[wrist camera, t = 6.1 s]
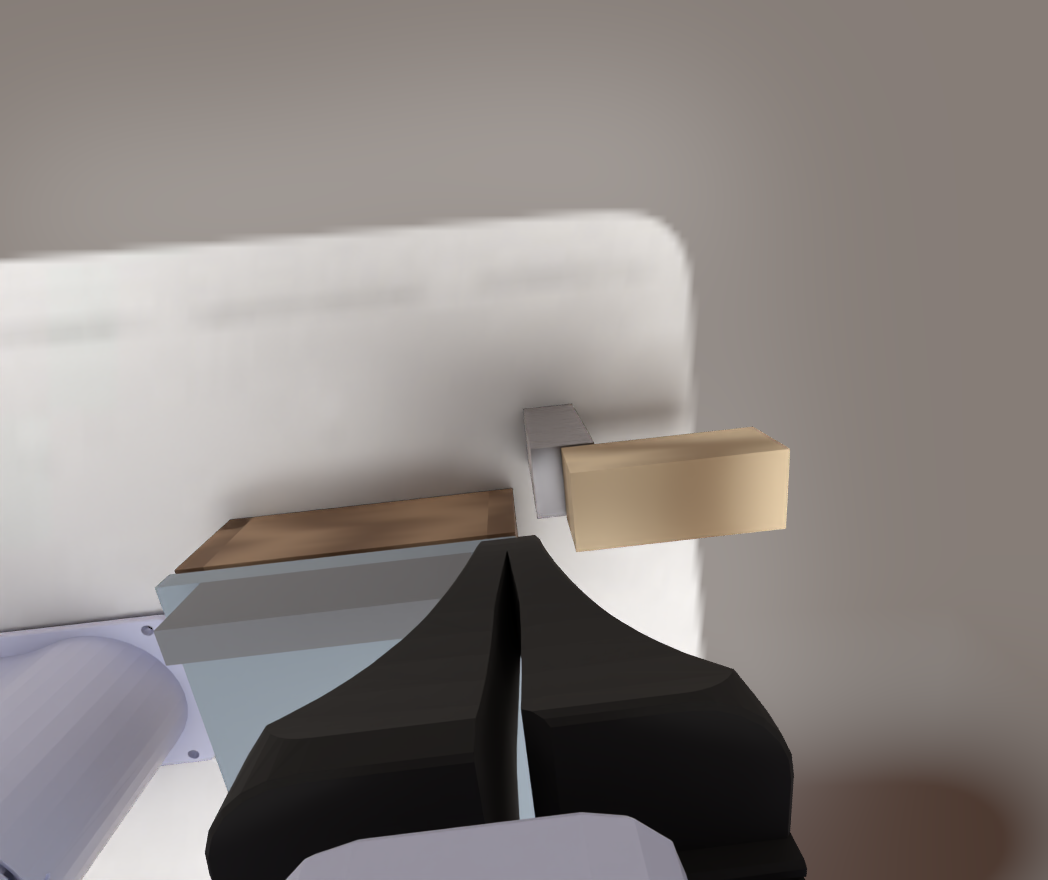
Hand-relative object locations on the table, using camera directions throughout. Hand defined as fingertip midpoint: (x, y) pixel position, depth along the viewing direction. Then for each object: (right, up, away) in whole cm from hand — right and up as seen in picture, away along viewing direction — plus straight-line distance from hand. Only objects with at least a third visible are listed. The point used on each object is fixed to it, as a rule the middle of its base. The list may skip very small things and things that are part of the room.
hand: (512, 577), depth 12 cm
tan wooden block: (+5, +2, +5) cm, 7 cm away
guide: (+1, +3, +10) cm, 11 cm away
